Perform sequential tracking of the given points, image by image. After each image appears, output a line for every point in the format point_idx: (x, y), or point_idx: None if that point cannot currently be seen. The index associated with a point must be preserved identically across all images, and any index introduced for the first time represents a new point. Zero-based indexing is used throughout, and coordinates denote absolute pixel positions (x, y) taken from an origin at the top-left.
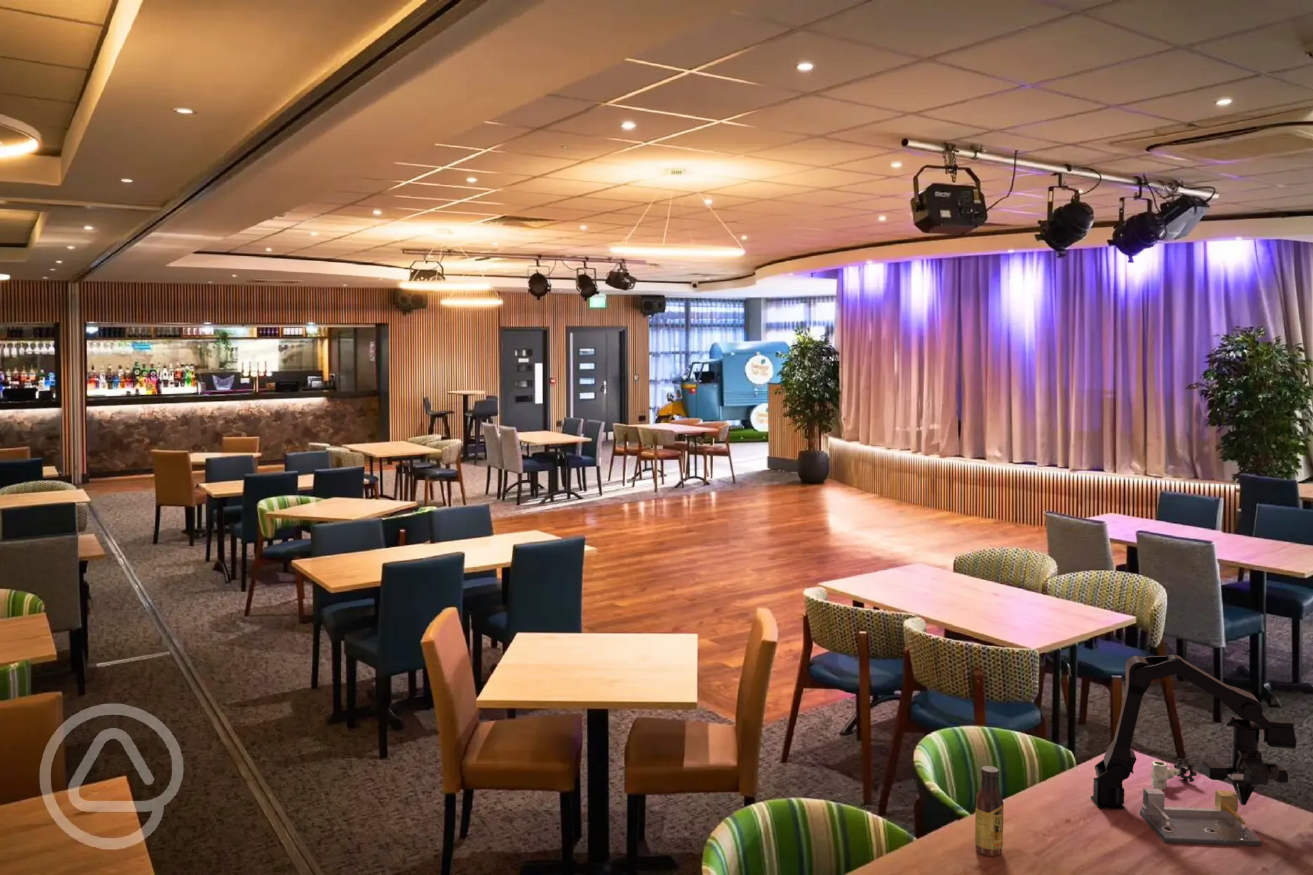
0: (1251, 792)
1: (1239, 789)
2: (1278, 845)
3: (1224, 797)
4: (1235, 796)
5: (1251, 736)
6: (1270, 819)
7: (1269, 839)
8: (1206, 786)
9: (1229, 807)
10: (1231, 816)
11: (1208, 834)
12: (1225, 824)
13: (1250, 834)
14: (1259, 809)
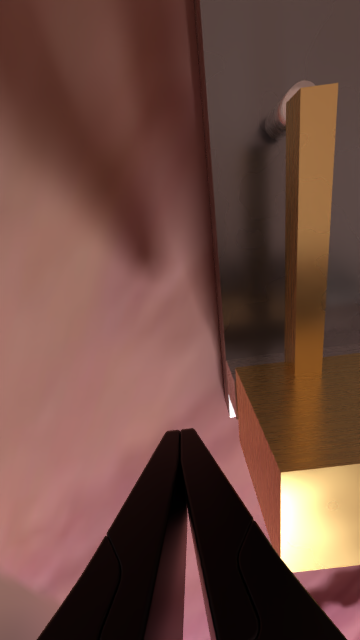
0: (99, 555)
1: (293, 587)
2: (56, 22)
3: None
4: (308, 463)
5: None
6: (25, 416)
7: (95, 131)
8: (204, 628)
9: (308, 377)
10: (253, 360)
11: None
12: (341, 244)
13: (235, 87)
14: (53, 501)
